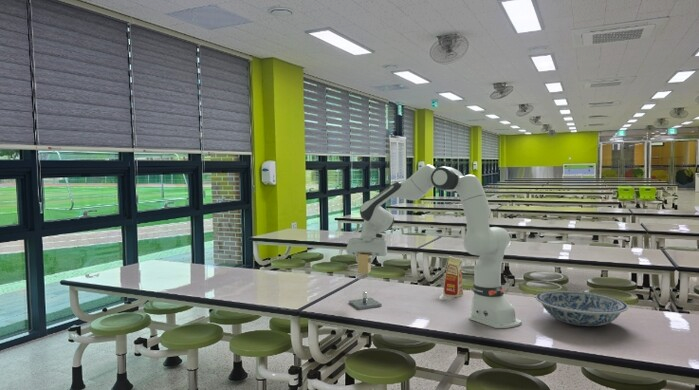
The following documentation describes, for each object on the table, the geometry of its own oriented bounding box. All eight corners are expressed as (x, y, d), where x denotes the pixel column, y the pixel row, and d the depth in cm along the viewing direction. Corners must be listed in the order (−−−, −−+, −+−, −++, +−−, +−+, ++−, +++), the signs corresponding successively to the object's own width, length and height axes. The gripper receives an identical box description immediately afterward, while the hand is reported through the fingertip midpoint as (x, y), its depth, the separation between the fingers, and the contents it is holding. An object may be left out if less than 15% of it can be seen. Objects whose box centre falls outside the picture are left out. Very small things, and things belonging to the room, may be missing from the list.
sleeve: (370, 271, 225) (370, 252, 224) (368, 273, 220) (367, 254, 219) (361, 270, 226) (360, 252, 226) (358, 273, 221) (357, 254, 221)
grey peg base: (381, 306, 221) (381, 293, 220) (358, 309, 216) (358, 296, 216) (371, 299, 232) (370, 287, 231) (348, 303, 227) (348, 290, 227)
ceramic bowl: (638, 321, 192) (638, 298, 192) (612, 345, 168) (612, 318, 168) (554, 305, 217) (554, 284, 216) (521, 323, 193) (521, 300, 192)
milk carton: (443, 295, 237) (442, 257, 236) (448, 291, 245) (447, 253, 244) (460, 297, 233) (460, 258, 232) (465, 293, 241) (465, 255, 240)
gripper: (347, 234, 232) (341, 257, 223) (387, 235, 226) (383, 258, 217) (350, 241, 236) (345, 264, 228) (389, 242, 230) (385, 266, 221)
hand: (363, 261), depth 222 cm, fingers closed on sleeve, 5 cm apart
